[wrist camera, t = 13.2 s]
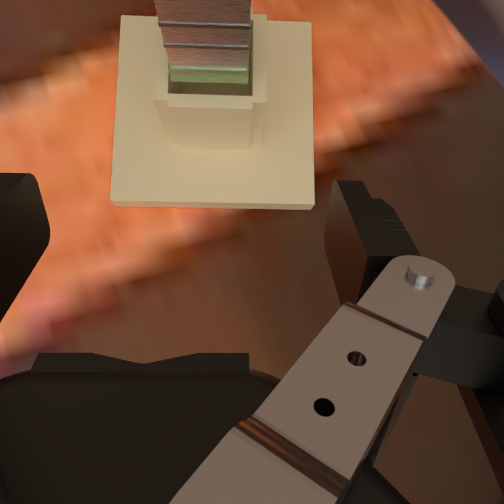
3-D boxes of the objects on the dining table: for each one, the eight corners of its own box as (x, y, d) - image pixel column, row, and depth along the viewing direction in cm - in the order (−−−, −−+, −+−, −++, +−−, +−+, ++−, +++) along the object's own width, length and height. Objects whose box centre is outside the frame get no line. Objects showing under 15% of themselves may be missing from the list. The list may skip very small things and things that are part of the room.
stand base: (115, 206, 31) (78, 169, 23) (126, 28, 33) (95, -56, 26) (310, 209, 31) (334, 175, 24) (307, 35, 34) (329, -46, 26)
